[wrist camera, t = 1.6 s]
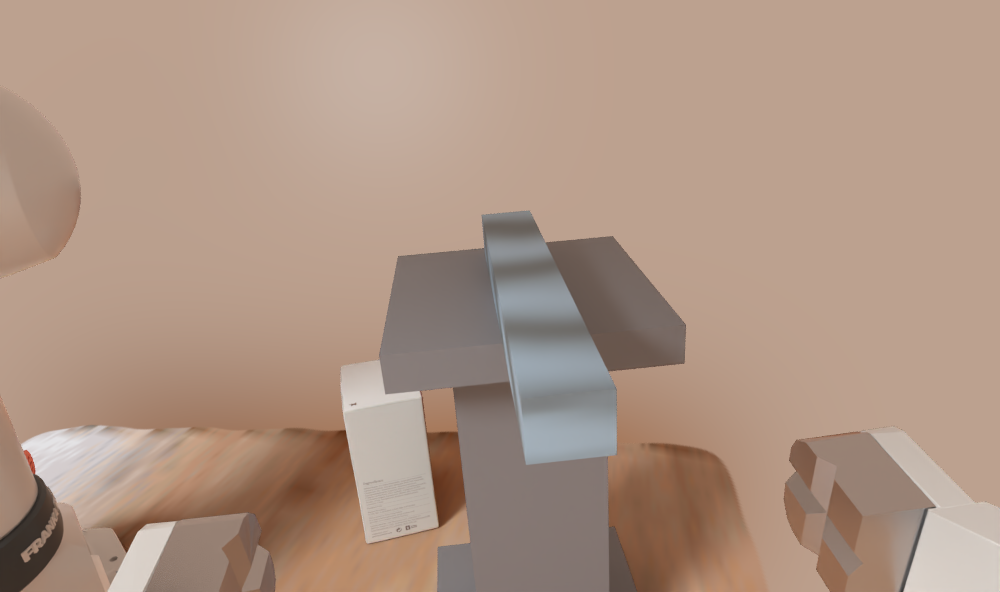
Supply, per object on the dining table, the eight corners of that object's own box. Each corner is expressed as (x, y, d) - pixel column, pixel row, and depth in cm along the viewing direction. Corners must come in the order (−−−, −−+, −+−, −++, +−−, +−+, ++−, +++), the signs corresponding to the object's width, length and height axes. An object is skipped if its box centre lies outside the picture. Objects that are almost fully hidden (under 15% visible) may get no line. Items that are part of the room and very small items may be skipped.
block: (616, 455, 22) (616, 388, 21) (526, 464, 22) (521, 398, 21) (531, 248, 42) (529, 210, 41) (484, 253, 42) (481, 214, 41)
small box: (440, 529, 56) (423, 396, 51) (365, 546, 55) (340, 412, 50) (427, 472, 64) (410, 352, 59) (360, 486, 62) (338, 364, 57)
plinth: (670, 713, 40) (685, 324, 30) (440, 742, 39) (379, 355, 30) (614, 546, 53) (612, 236, 43) (440, 566, 52) (398, 256, 42)
